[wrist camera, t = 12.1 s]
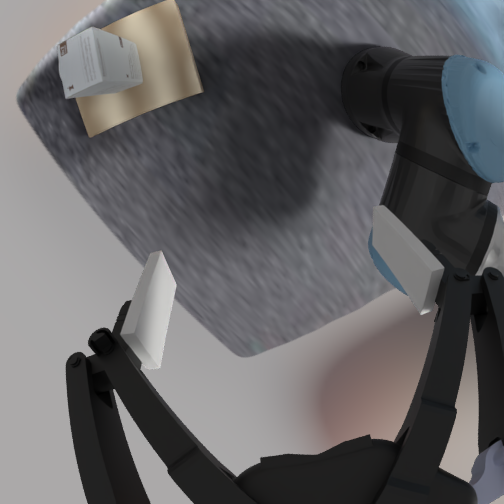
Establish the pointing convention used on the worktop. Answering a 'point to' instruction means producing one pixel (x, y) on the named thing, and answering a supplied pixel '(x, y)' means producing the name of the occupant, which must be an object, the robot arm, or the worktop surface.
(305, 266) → the worktop surface
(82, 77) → the skincare box
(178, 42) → the base block
